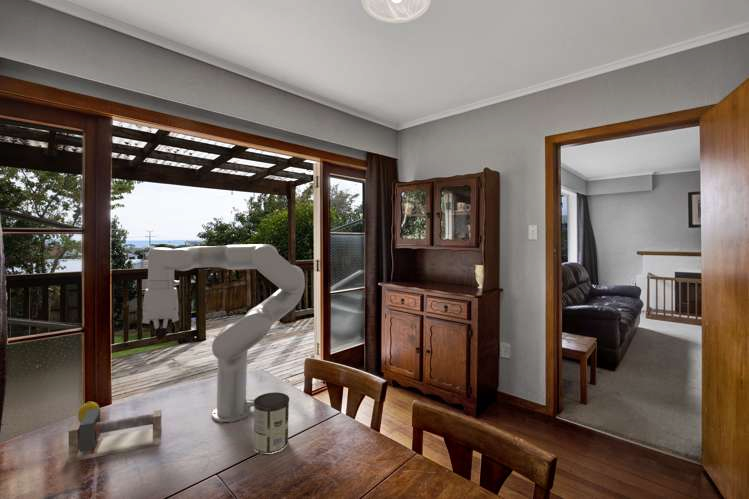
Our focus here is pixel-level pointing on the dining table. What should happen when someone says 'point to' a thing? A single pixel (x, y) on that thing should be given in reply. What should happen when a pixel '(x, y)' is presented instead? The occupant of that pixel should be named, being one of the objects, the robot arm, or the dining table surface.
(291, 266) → the robot arm
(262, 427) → the coffee can
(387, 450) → the dining table surface
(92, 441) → the grey frame
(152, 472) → the dining table surface
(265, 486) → the dining table surface
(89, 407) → the lemon
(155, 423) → the pipe stand
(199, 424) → the dining table surface
